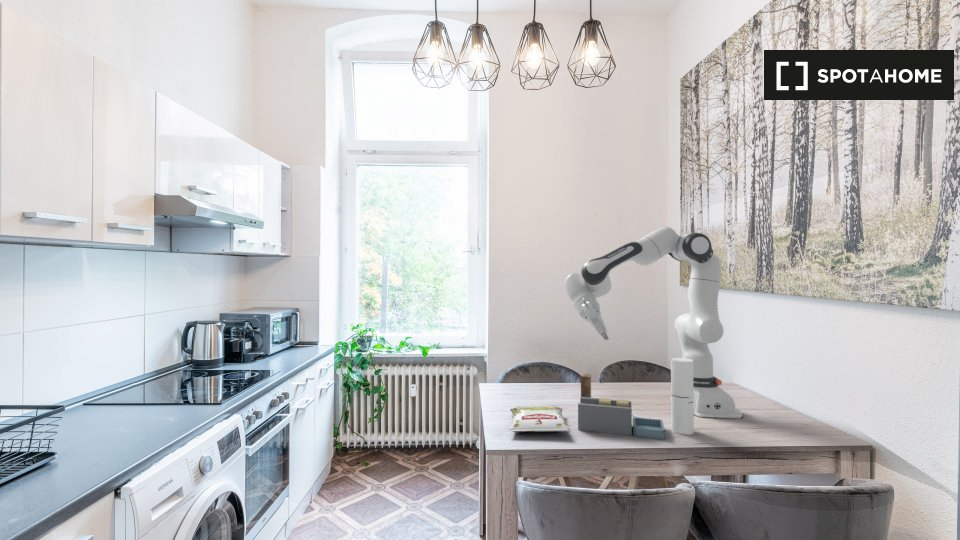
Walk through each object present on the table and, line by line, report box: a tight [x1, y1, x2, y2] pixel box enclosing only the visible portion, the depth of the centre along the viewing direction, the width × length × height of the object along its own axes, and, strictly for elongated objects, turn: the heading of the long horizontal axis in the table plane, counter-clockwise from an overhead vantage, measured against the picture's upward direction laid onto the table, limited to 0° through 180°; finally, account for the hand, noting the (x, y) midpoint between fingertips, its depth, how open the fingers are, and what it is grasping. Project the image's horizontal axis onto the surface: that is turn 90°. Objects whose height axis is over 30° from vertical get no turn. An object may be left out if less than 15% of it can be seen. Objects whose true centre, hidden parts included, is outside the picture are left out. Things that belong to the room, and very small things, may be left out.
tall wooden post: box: [580, 373, 592, 398], centre depth 172 cm, size 4×5×16 cm
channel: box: [577, 396, 633, 436], centre depth 160 cm, size 18×10×9 cm, turn 72°
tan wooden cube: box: [616, 399, 629, 407], centre depth 158 cm, size 4×4×4 cm
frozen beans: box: [509, 406, 571, 433], centre depth 161 cm, size 21×6×25 cm
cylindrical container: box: [670, 357, 695, 436], centre depth 156 cm, size 7×7×25 cm
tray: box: [632, 416, 666, 441], centre depth 155 cm, size 10×12×3 cm
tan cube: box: [599, 397, 611, 406], centre depth 160 cm, size 4×4×4 cm
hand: (604, 336), depth 170 cm, fingers open, 8 cm apart
